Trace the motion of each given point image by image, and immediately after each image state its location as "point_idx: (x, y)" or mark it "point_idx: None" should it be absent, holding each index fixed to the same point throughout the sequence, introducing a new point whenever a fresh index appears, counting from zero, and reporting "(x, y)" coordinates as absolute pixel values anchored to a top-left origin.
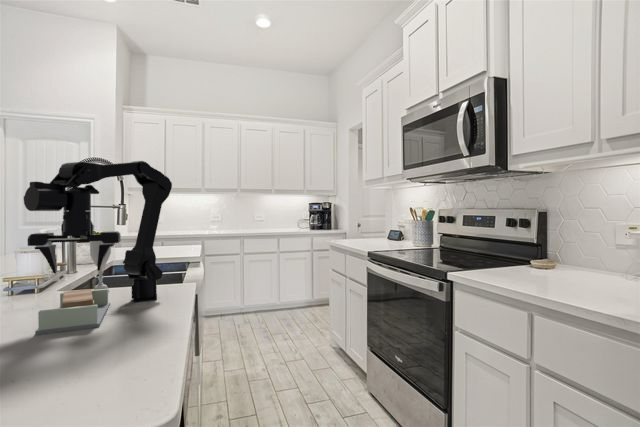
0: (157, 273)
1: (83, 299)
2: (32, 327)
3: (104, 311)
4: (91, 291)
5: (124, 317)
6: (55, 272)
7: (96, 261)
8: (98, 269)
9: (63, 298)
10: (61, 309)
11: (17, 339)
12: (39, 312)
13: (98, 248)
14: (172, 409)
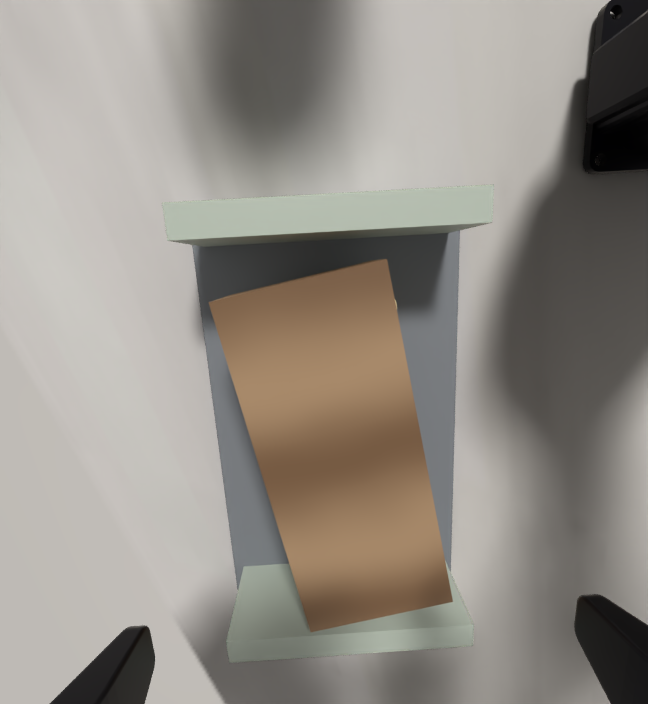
0: None
1: (401, 581)
2: (187, 481)
3: (450, 397)
4: (407, 369)
5: (533, 471)
6: (150, 679)
7: None
8: (594, 652)
9: (278, 518)
10: (322, 656)
11: (199, 602)
12: (233, 657)
13: None
14: None
